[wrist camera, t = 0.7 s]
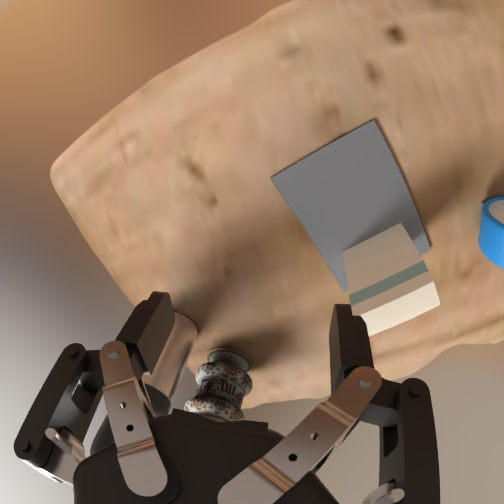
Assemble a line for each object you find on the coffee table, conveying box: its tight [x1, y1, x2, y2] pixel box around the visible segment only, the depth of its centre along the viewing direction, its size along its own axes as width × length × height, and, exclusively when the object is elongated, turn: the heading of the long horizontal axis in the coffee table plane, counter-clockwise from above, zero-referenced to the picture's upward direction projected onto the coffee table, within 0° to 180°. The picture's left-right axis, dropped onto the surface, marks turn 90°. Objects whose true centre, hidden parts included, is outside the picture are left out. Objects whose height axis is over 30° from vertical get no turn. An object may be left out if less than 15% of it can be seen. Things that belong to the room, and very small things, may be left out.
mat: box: [270, 120, 431, 291], centre depth 40 cm, size 22×16×1 cm
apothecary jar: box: [185, 347, 252, 422], centre depth 55 cm, size 12×12×18 cm
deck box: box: [342, 223, 440, 336], centre depth 36 cm, size 4×10×14 cm, turn 127°
